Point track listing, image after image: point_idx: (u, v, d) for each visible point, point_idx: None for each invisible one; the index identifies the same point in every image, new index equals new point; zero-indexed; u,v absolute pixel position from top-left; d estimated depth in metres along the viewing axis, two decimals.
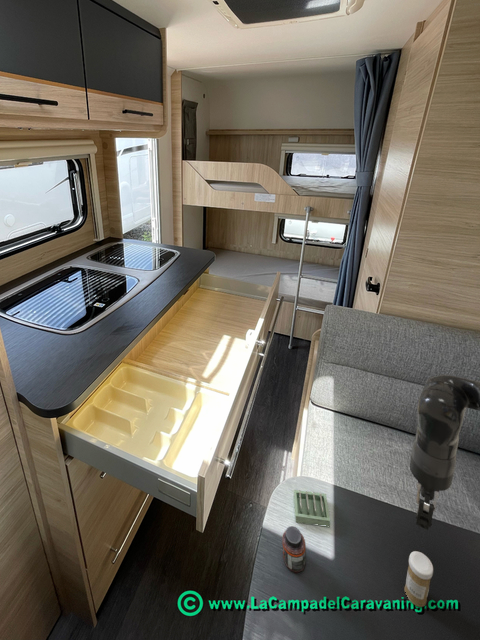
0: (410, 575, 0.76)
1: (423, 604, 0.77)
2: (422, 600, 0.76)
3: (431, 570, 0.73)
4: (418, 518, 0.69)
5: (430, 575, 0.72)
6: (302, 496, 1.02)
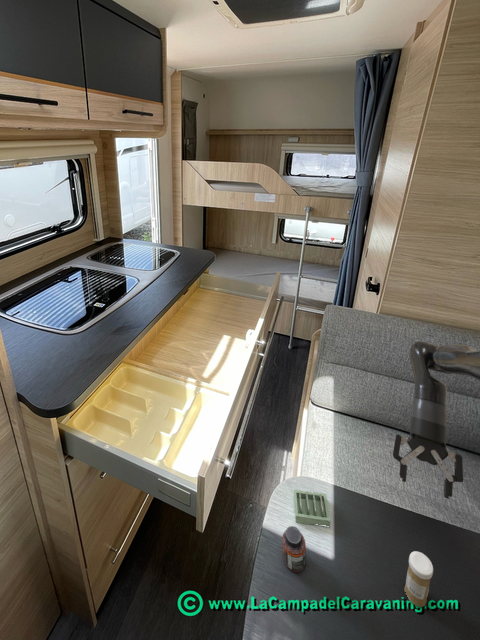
0: (410, 575, 0.76)
1: (423, 604, 0.77)
2: (422, 600, 0.76)
3: (431, 570, 0.73)
4: (393, 451, 0.86)
5: (430, 575, 0.72)
6: (302, 496, 1.02)
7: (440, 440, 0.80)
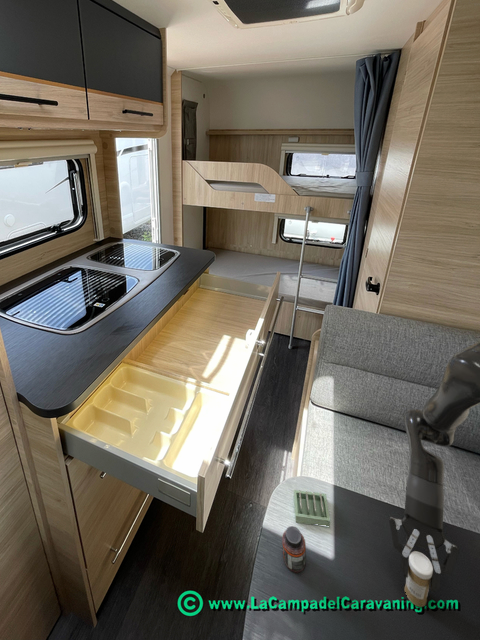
0: (410, 575, 0.76)
1: (423, 604, 0.77)
2: (422, 600, 0.76)
3: (431, 570, 0.73)
4: None
5: (430, 575, 0.72)
6: (302, 496, 1.02)
7: (436, 525, 0.75)
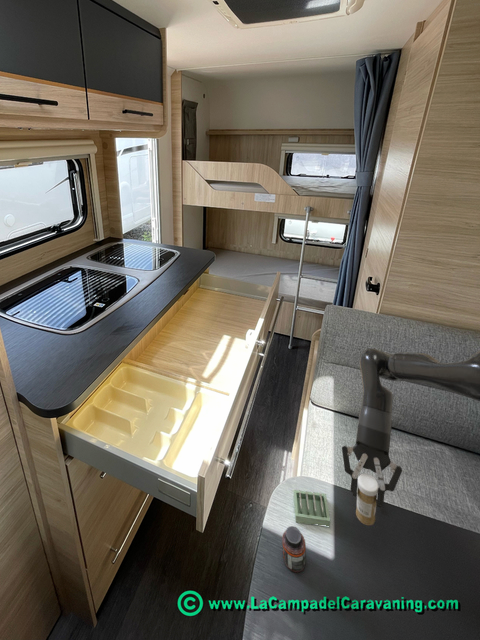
0: (359, 495, 0.81)
1: (371, 523, 0.82)
2: (370, 518, 0.82)
3: (376, 487, 0.78)
4: None
5: (375, 492, 0.78)
6: (302, 496, 1.02)
7: (382, 448, 0.80)
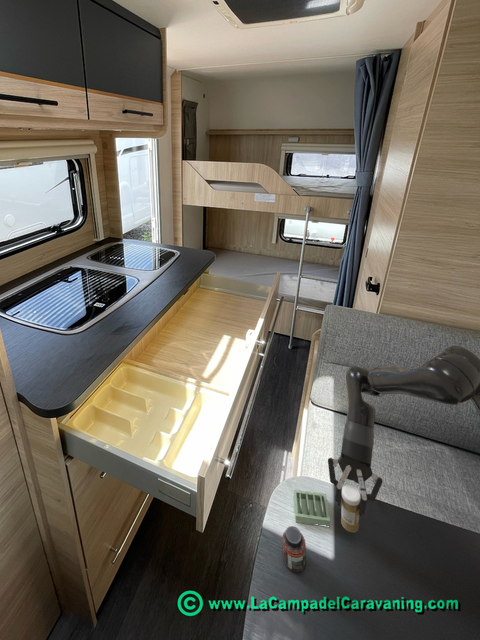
0: (343, 504, 0.87)
1: (355, 530, 0.88)
2: (353, 526, 0.88)
3: (358, 497, 0.84)
4: None
5: (357, 501, 0.84)
6: (302, 496, 1.02)
7: (364, 460, 0.86)
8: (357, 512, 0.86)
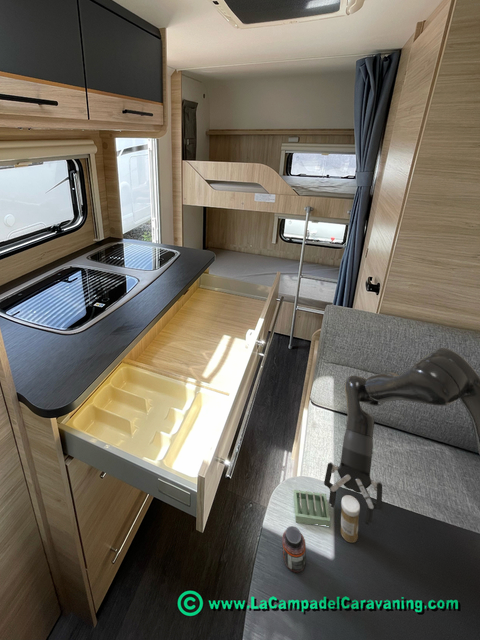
0: (342, 515, 0.89)
1: (354, 540, 0.90)
2: (353, 536, 0.89)
3: (358, 509, 0.86)
4: None
5: (356, 513, 0.86)
6: (302, 496, 1.02)
7: (363, 470, 0.87)
8: (356, 523, 0.88)
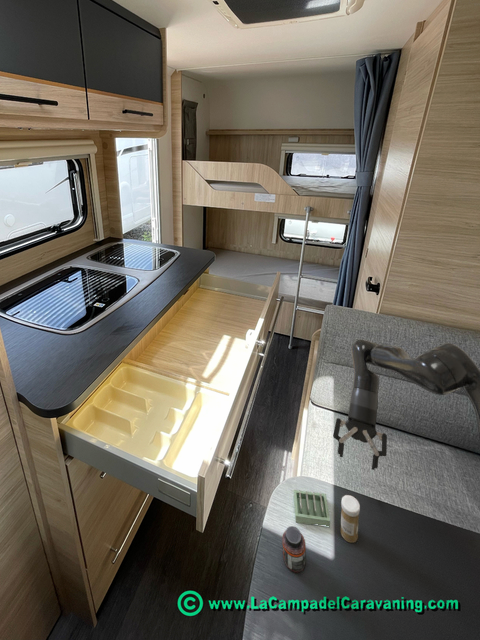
0: (342, 515, 0.89)
1: (354, 540, 0.90)
2: (353, 536, 0.89)
3: (358, 509, 0.86)
4: None
5: (356, 513, 0.86)
6: (302, 496, 1.02)
7: (370, 422, 0.95)
8: (356, 523, 0.88)
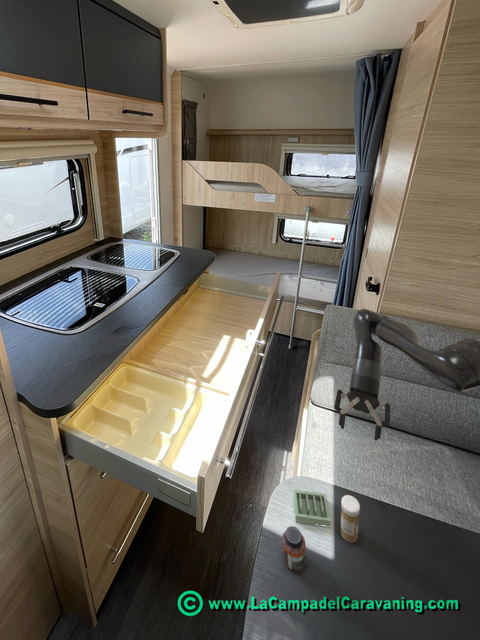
0: (342, 515, 0.89)
1: (354, 540, 0.90)
2: (353, 536, 0.89)
3: (358, 509, 0.86)
4: None
5: (356, 513, 0.86)
6: (302, 496, 1.02)
7: (372, 391, 0.92)
8: (356, 523, 0.88)
